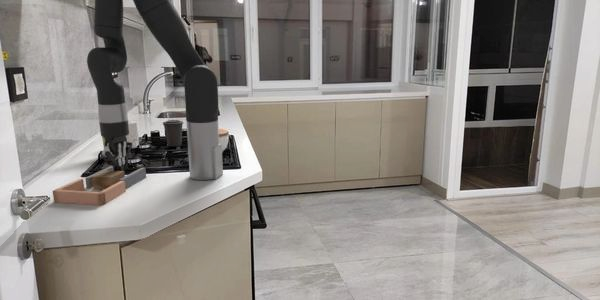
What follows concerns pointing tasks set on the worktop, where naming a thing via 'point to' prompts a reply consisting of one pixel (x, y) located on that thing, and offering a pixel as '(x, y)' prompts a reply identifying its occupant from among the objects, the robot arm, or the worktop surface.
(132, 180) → the tunnel
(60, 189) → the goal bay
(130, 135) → the white cup
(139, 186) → the worktop surface
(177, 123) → the coffee cup
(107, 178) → the walnut block
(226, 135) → the lidded jar
